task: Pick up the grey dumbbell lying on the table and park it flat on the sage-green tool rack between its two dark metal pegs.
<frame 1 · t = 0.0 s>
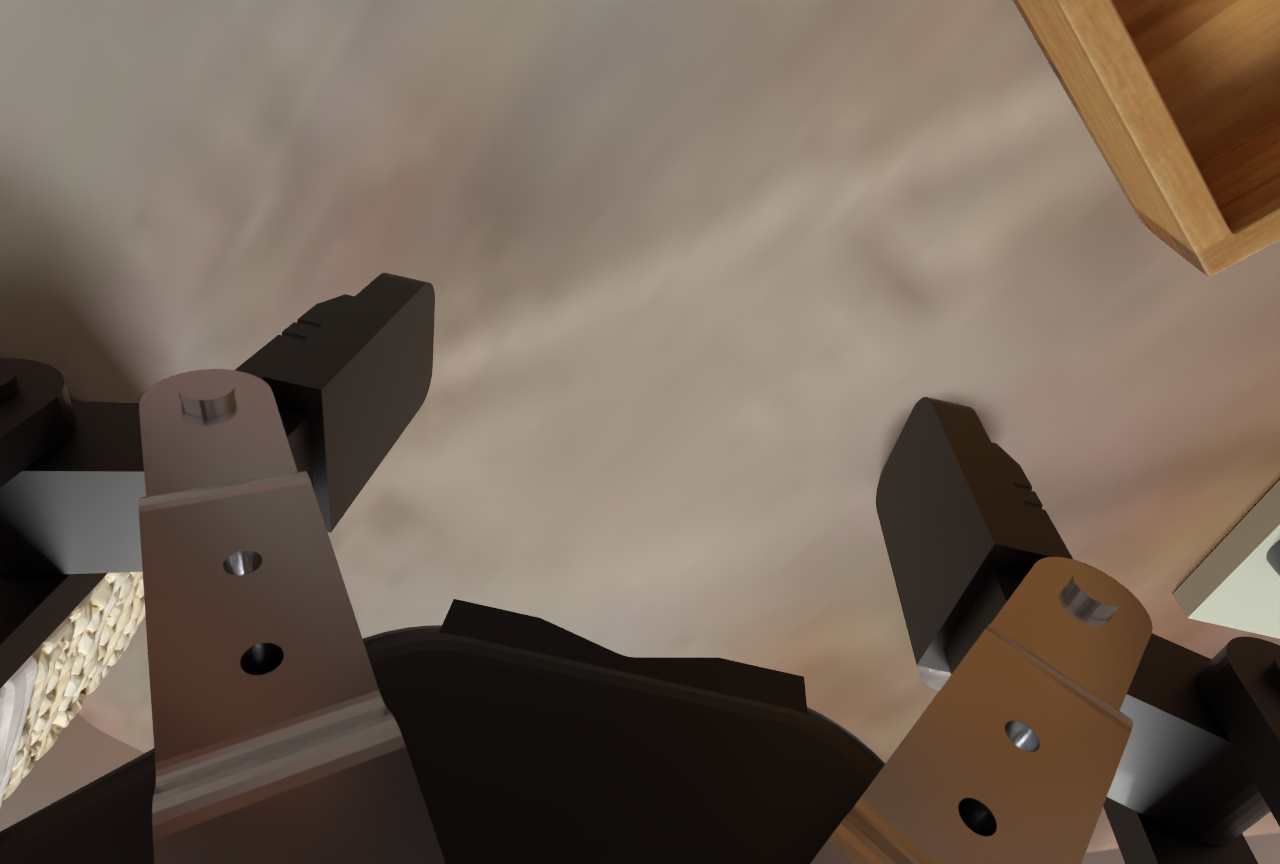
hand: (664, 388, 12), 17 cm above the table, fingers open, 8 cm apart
storage basket: (45, 512, 42), on the table
grey dumbbell: (936, 555, 36), on the table
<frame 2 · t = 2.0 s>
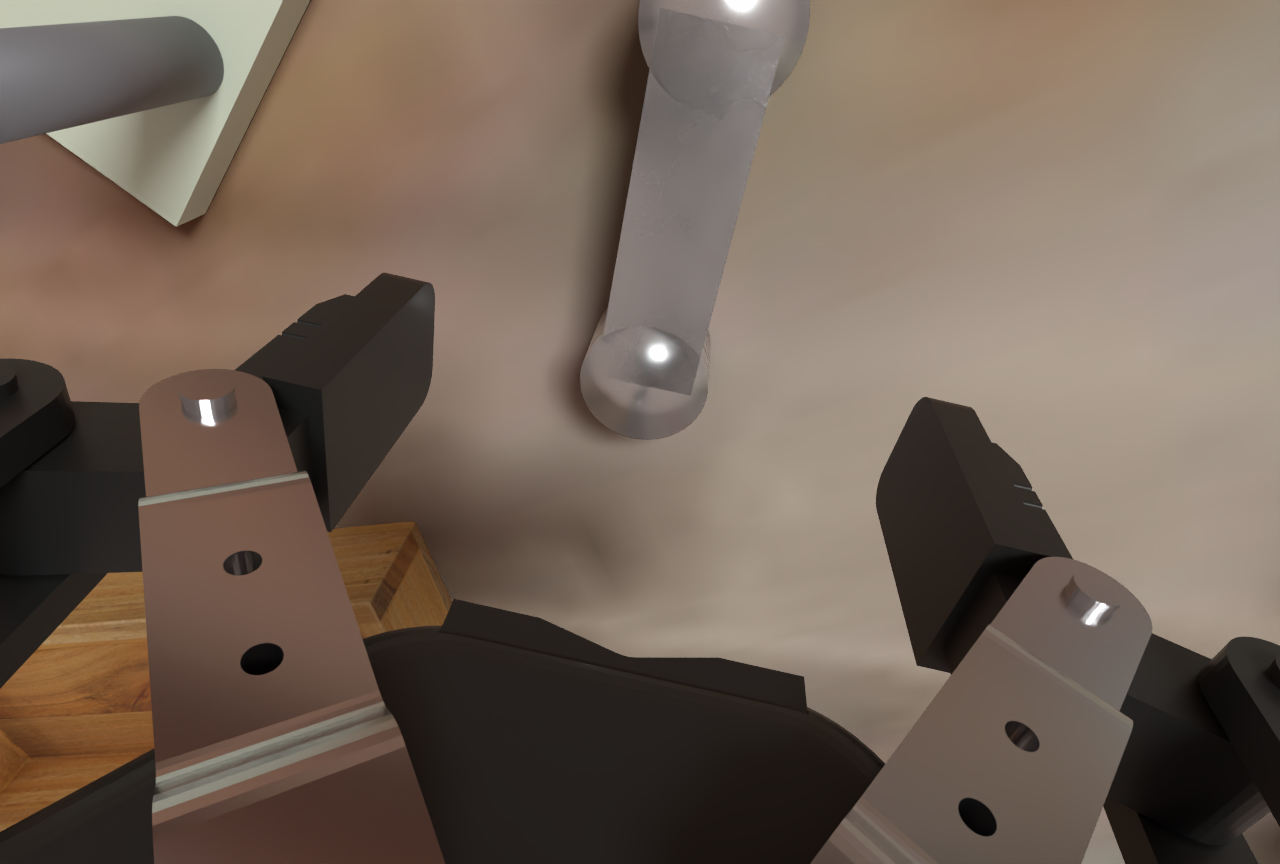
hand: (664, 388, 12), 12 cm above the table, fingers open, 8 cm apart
grey dumbbell: (683, 200, 22), on the table
tray: (201, 647, 38), on the table
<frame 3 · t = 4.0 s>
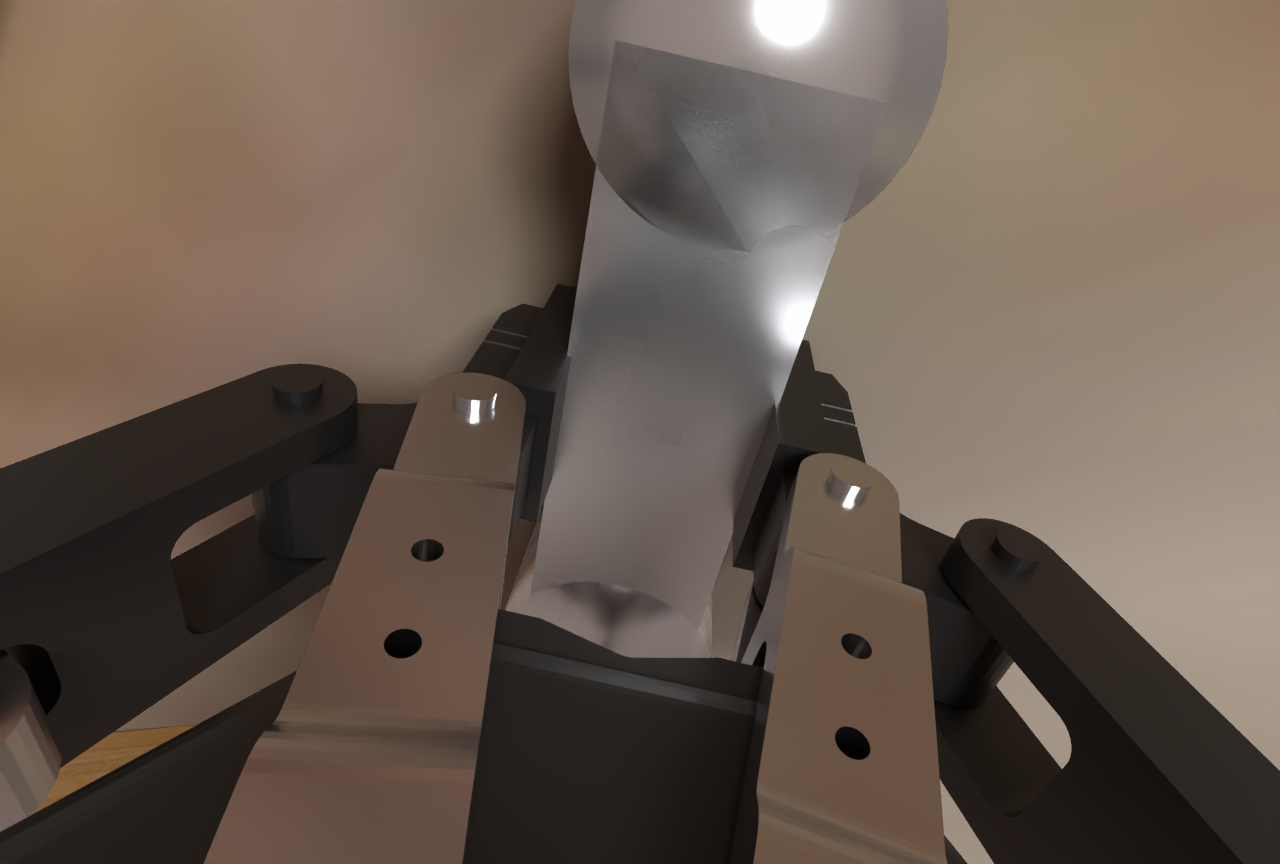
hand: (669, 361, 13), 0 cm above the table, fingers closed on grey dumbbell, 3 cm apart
grey dumbbell: (672, 351, 13), on the table, touching gripper
tray: (43, 845, 29), on the table
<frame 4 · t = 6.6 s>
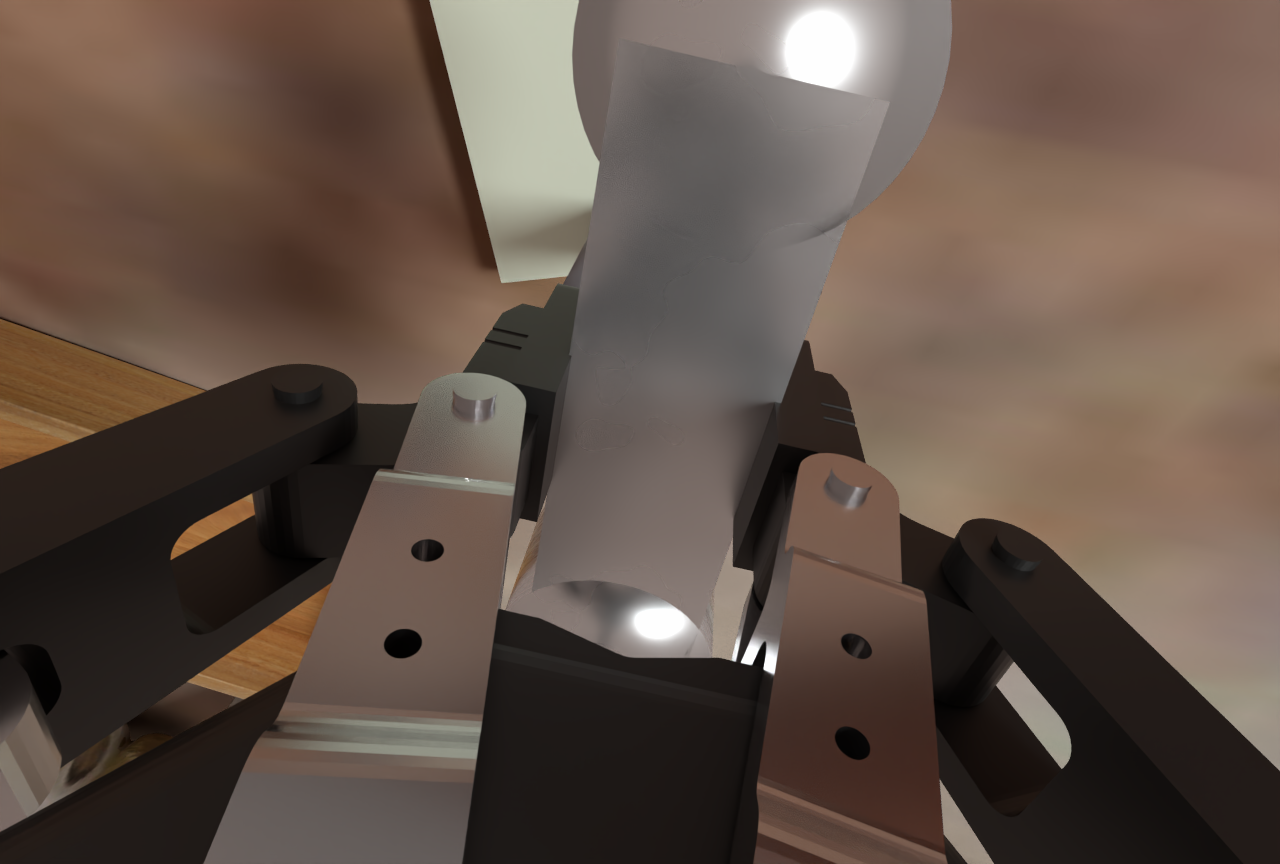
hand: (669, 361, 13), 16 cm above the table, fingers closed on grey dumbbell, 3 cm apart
grey dumbbell: (674, 350, 13), point 15 cm above the table, touching gripper
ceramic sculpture: (96, 709, 49), on the table
tray: (128, 468, 37), on the table
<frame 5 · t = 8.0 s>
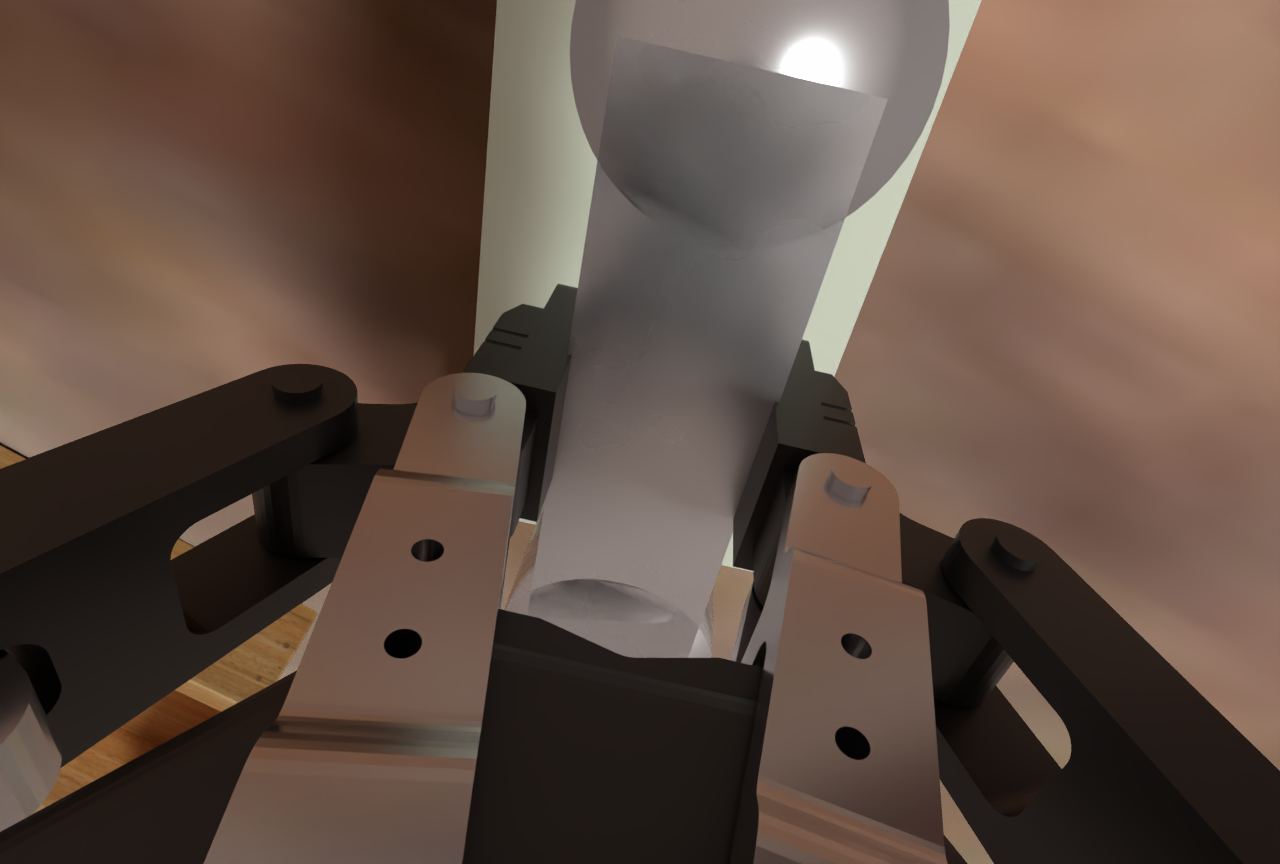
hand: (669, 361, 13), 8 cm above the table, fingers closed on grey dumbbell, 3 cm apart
tool rack: (682, 219, 19), on the table
grey dumbbell: (673, 349, 13), point 8 cm above the table, touching gripper
when the fingers open (3 cm above the table, at t = 9.3 s): grey dumbbell drops 1 cm, resting on tool rack.
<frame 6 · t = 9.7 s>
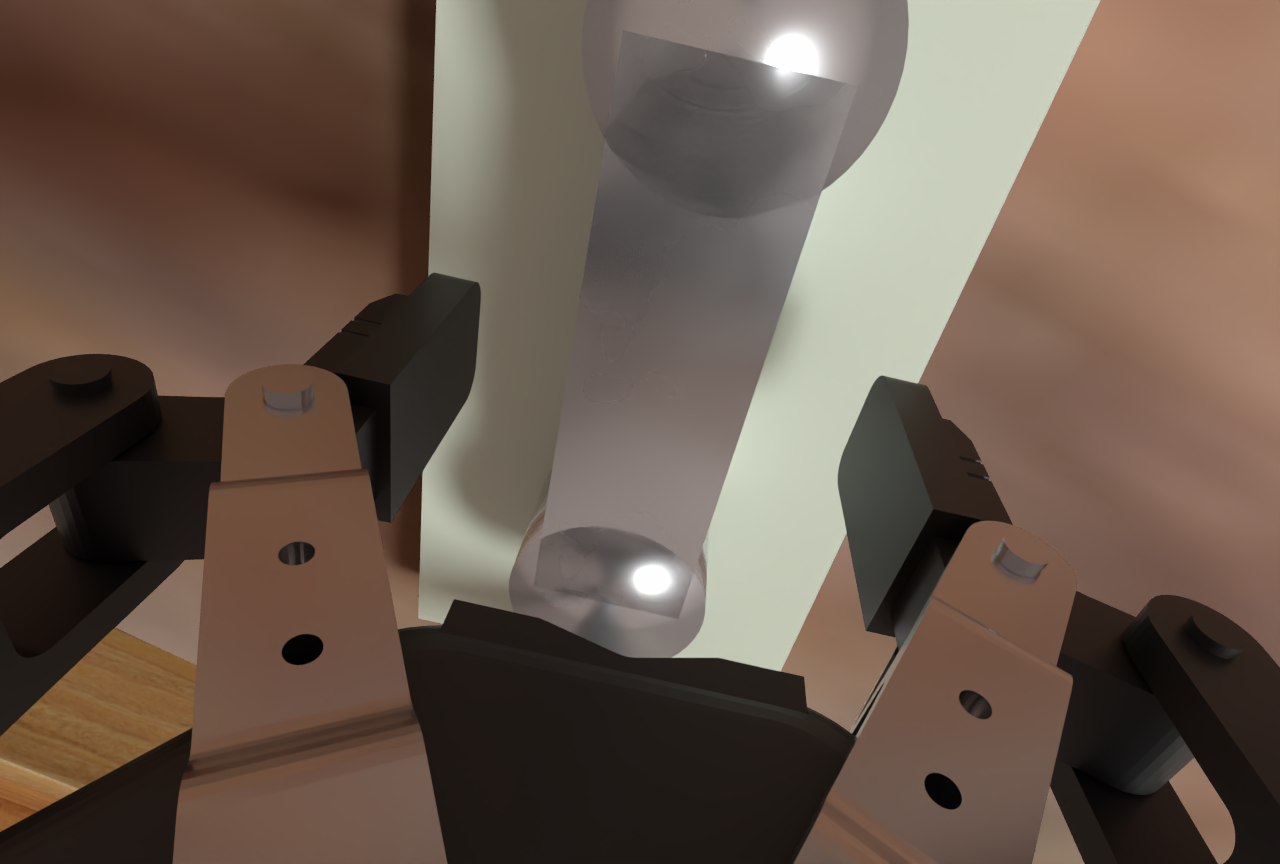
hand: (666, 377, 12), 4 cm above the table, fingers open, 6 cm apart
tool rack: (681, 290, 15), on the table
grey dumbbell: (671, 319, 14), point 1 cm above the table, touching tool rack
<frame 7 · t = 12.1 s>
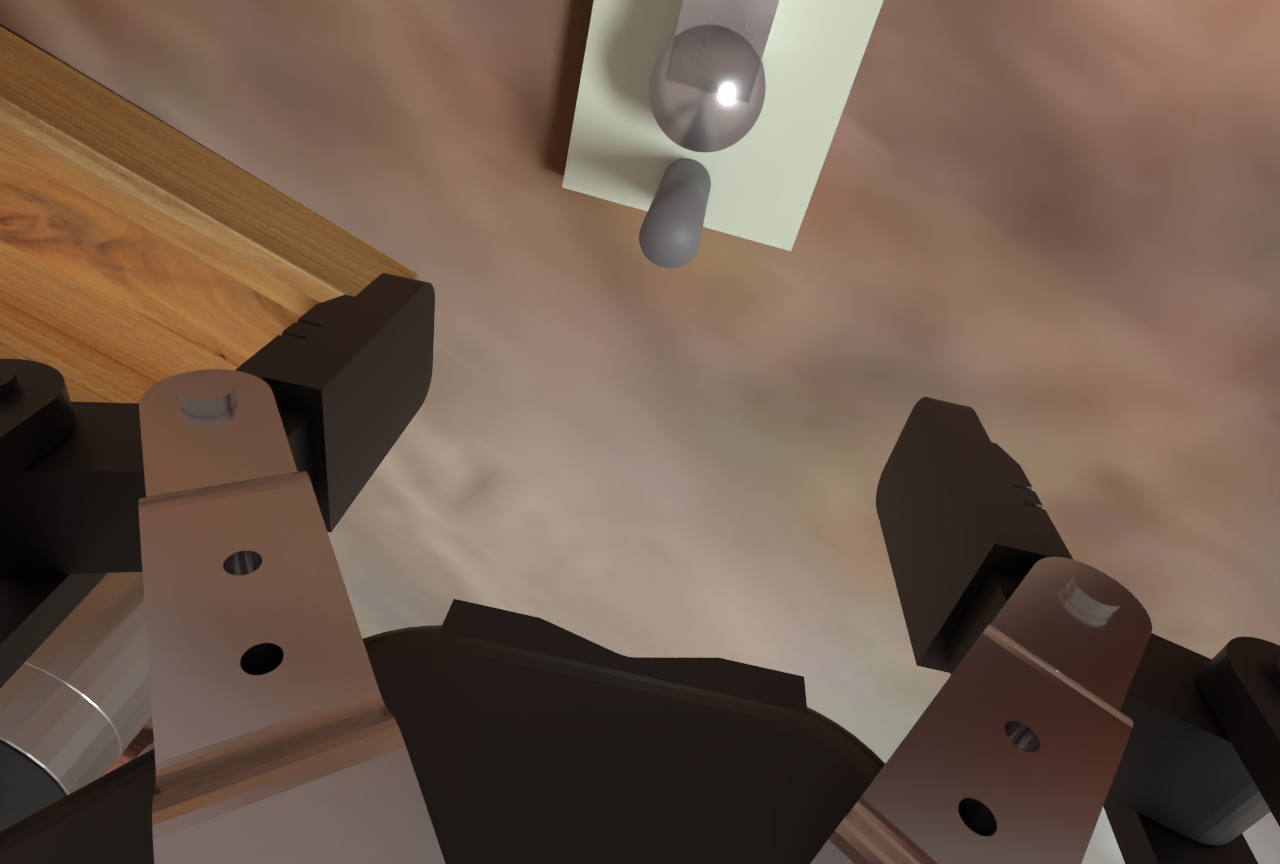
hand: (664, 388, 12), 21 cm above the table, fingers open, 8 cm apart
tray: (99, 222, 36), on the table
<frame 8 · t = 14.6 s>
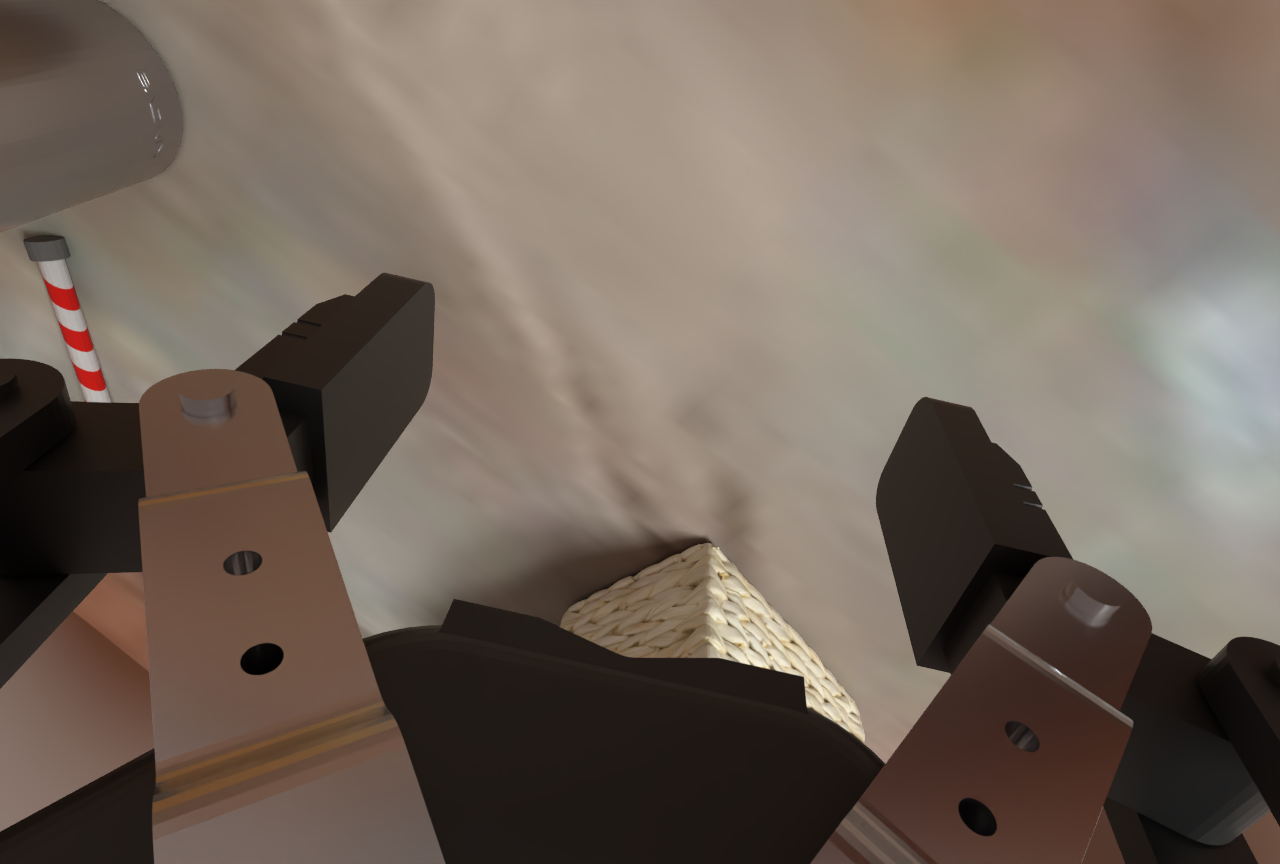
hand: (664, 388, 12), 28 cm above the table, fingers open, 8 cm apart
toy hammer: (136, 421, 51), on the table
storage basket: (713, 654, 57), on the table
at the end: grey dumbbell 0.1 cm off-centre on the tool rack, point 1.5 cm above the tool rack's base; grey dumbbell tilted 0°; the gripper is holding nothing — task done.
